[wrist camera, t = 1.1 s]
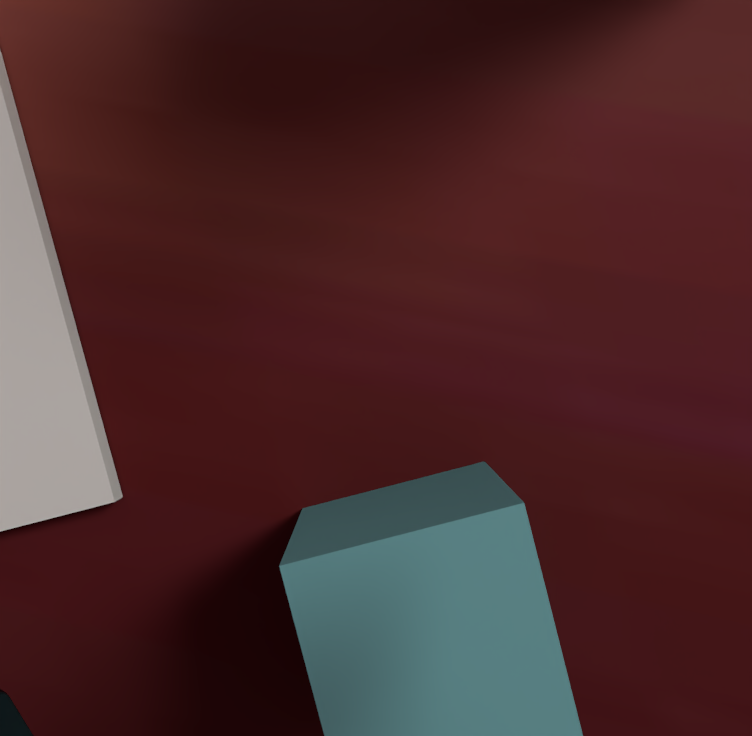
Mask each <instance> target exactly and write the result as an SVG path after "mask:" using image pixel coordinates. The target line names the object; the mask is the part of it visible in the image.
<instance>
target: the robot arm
mask: <svg viewBox="0 0 752 736" xmlns="http://www.w3.org/2000/svg"><path fill="white" fill-rule="evenodd" d="M0 736H33V734H32V733H31V731H30V729H29V728H28V726H27V724H26V723H25V721H24V720H23V718H22V716H21V715H20V713H19V712H18V710H17V708H16V707H15V705H14V703H13V702H12V700H11V699H10V697H9V696H8V695H7V693H6V692H4V691H3V690H1V689H0Z"/></svg>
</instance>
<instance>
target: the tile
mask: <svg viewBox="0 0 752 736" xmlns="http://www.w3.org/2000/svg"><path fill="white" fill-rule="evenodd" d="M122 497H123V496H122V492H121V489H120V485H119V481H118V478H117V474H116V470H115V467H114V463H113V459H112V456H111V452H110V448H109V445H108V441H107V437H106V434H105V430H104V426H103V423H102V419H101V415H100V412H99V408H98V405H97V401H96V397H95V394H94V390H93V386H92V383H91V379H90V375H89V372H88V368H87V364H86V361H85V357H84V353H83V350H82V346H81V342H80V339H79V335H78V331H77V328H76V324H75V321H74V317H73V313H72V310H71V306H70V302H69V299H68V295H67V291H66V288H65V284H64V280H63V277H62V273H61V269H60V266H59V262H58V258H57V255H56V251H55V247H54V244H53V240H52V237H51V233H50V229H49V226H48V222H47V218H46V215H45V211H44V207H43V204H42V200H41V196H40V193H39V189H38V185H37V182H36V178H35V174H34V171H33V167H32V163H31V160H30V156H29V153H28V149H27V145H26V142H25V138H24V134H23V131H22V127H21V123H20V120H19V116H18V112H17V109H16V105H15V101H14V98H13V94H12V90H11V87H10V83H9V79H8V76H7V72H6V69H5V65H4V61H3V58H2V54H1V50H0V531H4V530H8V529H12V528H16V527H20V526H24V525H28V524H32V523H35V522H39V521H43V520H47V519H51V518H55V517H59V516H63V515H66V514H70V513H74V512H78V511H82V510H86V509H90V508H94V507H98V506H101V505H105V504H109V503H113V502H116V501H117V500H119V499H120V498H122Z"/></svg>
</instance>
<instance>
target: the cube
mask: <svg viewBox="0 0 752 736" xmlns="http://www.w3.org/2000/svg"><path fill="white" fill-rule="evenodd" d="M279 567H280V571H281V575H282V579H283V582H284V586H285V590H286V594H287V597H288V601H289V605H290V609H291V612H292V616H293V620H294V624H295V627H296V631H297V635H298V639H299V642H300V646H301V650H302V654H303V657H304V661H305V665H306V669H307V672H308V676H309V680H310V684H311V687H312V691H313V695H314V699H315V703H316V706H317V710H318V714H319V718H320V721H321V725H322V729H323V733H324V736H583V734H582V730H581V726H580V722H579V718H578V714H577V710H576V706H575V702H574V698H573V695H572V691H571V687H570V683H569V679H568V675H567V671H566V667H565V663H564V659H563V655H562V651H561V647H560V643H559V639H558V635H557V631H556V627H555V623H554V619H553V615H552V611H551V607H550V603H549V599H548V595H547V591H546V587H545V584H544V580H543V576H542V572H541V568H540V564H539V560H538V556H537V552H536V548H535V544H534V540H533V536H532V532H531V528H530V524H529V520H528V516H527V512H526V508H525V504H524V502H523V501H522V500H521V499H520V498H519V497H518V496H517V495H516V494H515V493H514V492H513V491H512V490H511V489H510V488H509V486H508V485H507V484H506V483H505V482H504V481H503V480H502V479H501V478H500V477H499V476H498V475H497V474H496V473H495V472H494V471H493V470H492V469H491V468H490V467H489V466H488V465H487V463H486V462H485V461H484V462H481V463H477V464H473V465H469V466H465V467H461V468H457V469H454V470H450V471H446V472H442V473H438V474H434V475H430V476H426V477H423V478H419V479H415V480H411V481H407V482H403V483H399V484H396V485H392V486H388V487H384V488H380V489H376V490H372V491H368V492H365V493H361V494H357V495H353V496H349V497H345V498H341V499H338V500H334V501H330V502H326V503H322V504H318V505H314V506H310V507H307V508H303V509H302V511H301V513H300V516H299V518H298V521H297V523H296V526H295V528H294V531H293V533H292V535H291V538H290V540H289V543H288V545H287V548H286V550H285V553H284V555H283V558H282V560H281V563H280V565H279Z"/></svg>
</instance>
